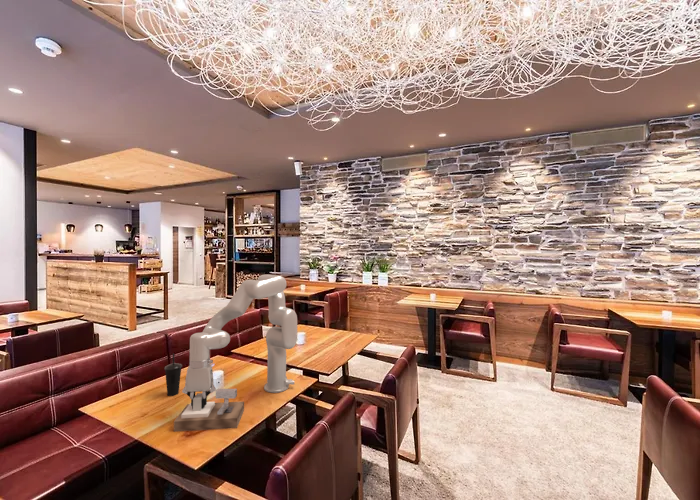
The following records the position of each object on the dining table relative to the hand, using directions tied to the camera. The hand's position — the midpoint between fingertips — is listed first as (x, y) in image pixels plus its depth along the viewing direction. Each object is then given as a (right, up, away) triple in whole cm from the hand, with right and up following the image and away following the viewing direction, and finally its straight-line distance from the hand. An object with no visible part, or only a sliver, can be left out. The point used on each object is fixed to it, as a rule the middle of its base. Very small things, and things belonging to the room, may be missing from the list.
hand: (198, 406), depth 131 cm
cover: (0, -2, 0) cm, 2 cm away
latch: (+11, -2, -1) cm, 11 cm away
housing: (+5, -6, +1) cm, 8 cm away
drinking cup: (-24, -6, +24) cm, 35 cm away
